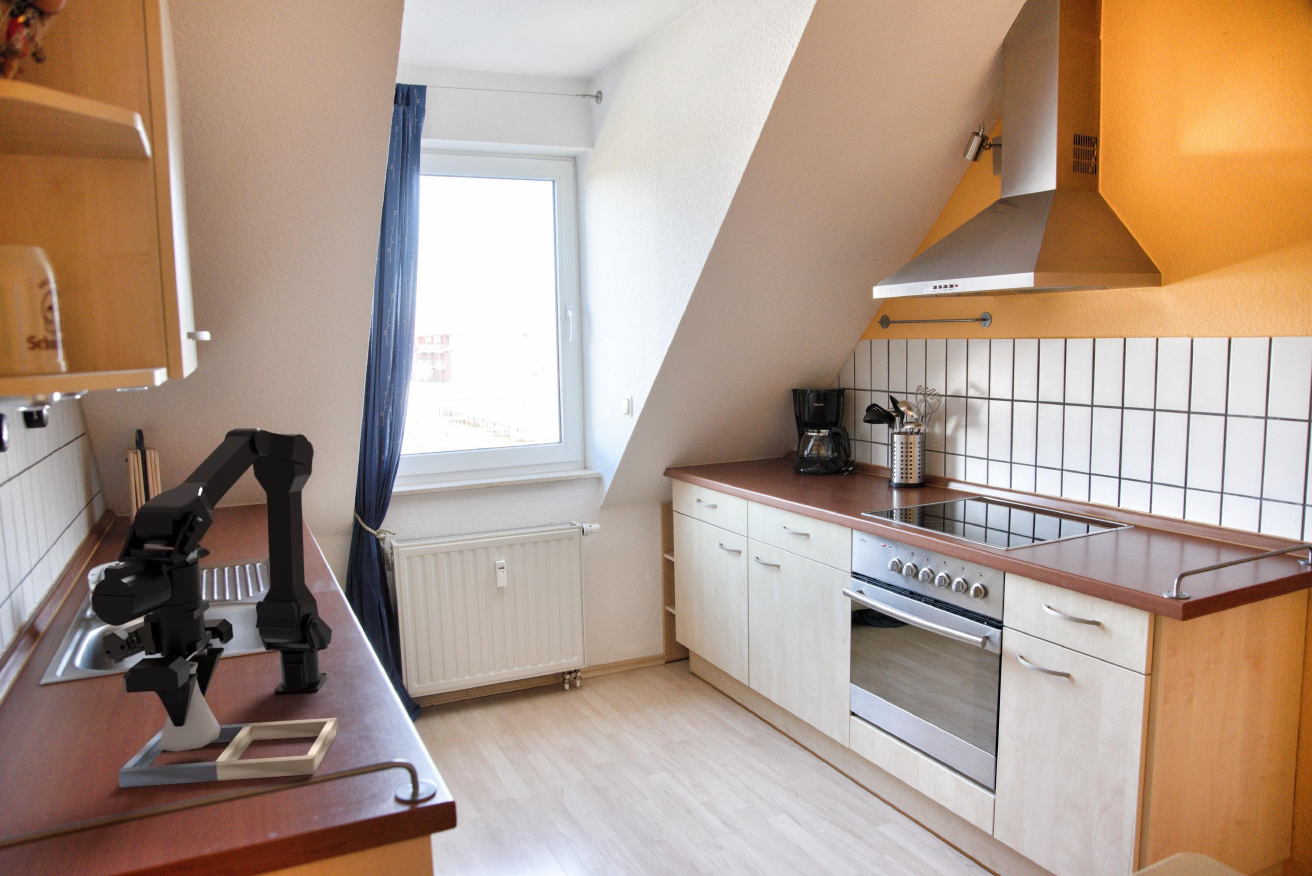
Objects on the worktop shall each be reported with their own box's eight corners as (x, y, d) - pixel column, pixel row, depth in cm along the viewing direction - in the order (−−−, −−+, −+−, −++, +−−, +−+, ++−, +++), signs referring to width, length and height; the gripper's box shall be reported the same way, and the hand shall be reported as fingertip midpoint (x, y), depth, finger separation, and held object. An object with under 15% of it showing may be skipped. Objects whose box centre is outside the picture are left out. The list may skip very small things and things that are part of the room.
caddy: (163, 743, 121) (162, 728, 121) (337, 731, 123) (336, 717, 123) (119, 787, 109) (118, 772, 109) (313, 774, 111) (312, 758, 111)
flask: (231, 727, 119) (224, 654, 118) (205, 752, 112) (198, 676, 111) (176, 728, 119) (169, 656, 118) (147, 754, 112) (139, 678, 110)
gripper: (144, 582, 122) (155, 692, 123) (69, 627, 103) (83, 755, 105) (229, 578, 123) (239, 686, 125) (170, 622, 104) (182, 749, 106)
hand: (188, 717), depth 115 cm, fingers closed on flask, 5 cm apart
